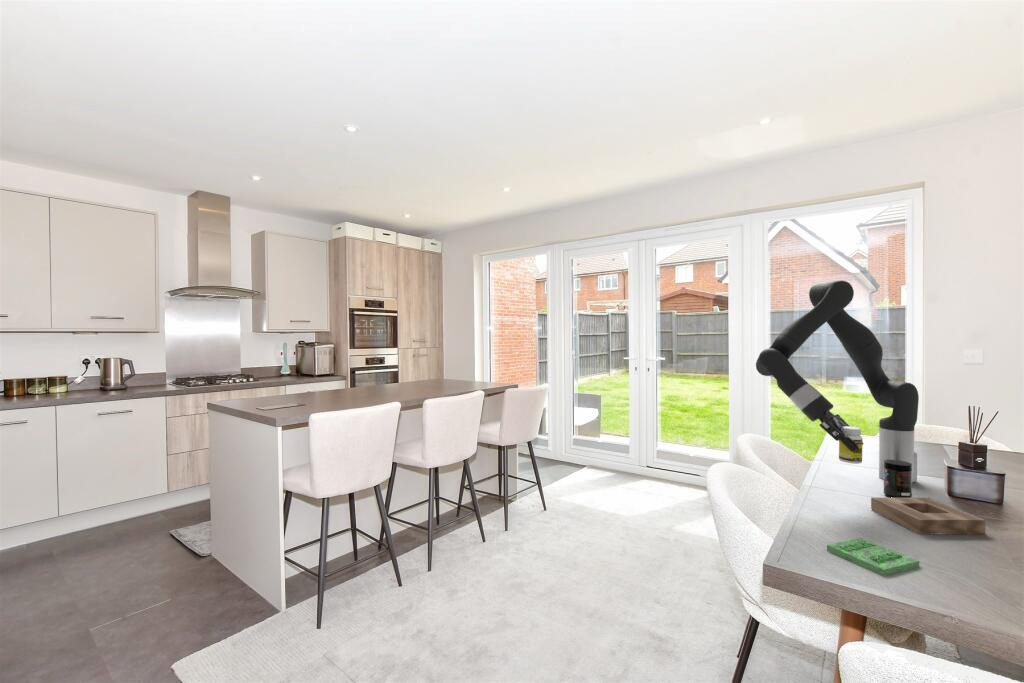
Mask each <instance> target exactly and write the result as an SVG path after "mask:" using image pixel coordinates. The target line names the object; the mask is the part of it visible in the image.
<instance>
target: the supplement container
mask: <svg viewBox="0 0 1024 683" xmlns="http://www.w3.org/2000/svg"><path fill="white" fill-rule="evenodd" d="M912 484H913V483H912V464H911V463H909V462H905V461H900V460H884V479H883V494H884V496H886V497H888V496H889V497H888V498H890V497H892V498H913V490H912V489H913V485H912Z"/></svg>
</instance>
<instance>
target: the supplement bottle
mask: <svg viewBox="0 0 1024 683" xmlns="http://www.w3.org/2000/svg"><path fill="white" fill-rule="evenodd" d="M843 428H844V430H843V431H844V432H845V433H846V434H847V436H848V437H849V438H850V439H851V440H852V441H853V442H855V443H856V444H857V445H858V446H859V448H858V449H857V450H855V451H854V452H852V451H850V450H849V449H848V448H847V447H846V446H845V445H844V444H843V443H842V441H841V442H840V441H838V460H839V461H840V462H843V463H846V464H847V463H848V464H854V465H855V464H856V465H859V464H862V463H863V446H864V442H863V441H864V440H863V436H862V435H861V434H862V429H861V428H860V427H857V426H851V425H849V426H843ZM862 442H863V444H862Z"/></svg>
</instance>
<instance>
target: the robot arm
mask: <svg viewBox="0 0 1024 683" xmlns="http://www.w3.org/2000/svg"><path fill="white" fill-rule="evenodd" d="M808 295H809V301H810V303H811V305H812V306H813V307H812V308H811V309H810V310H809V311H807V312H805V313H804V314H803V315H801V316H799V317H798V318H796V319H795V320H793V321H791V322H790V324H788V325H787V326H786V327H785V328H784V329H783V330H781V332H780V333H779V334H778V336H777V337H776V338H775V339H774V341H773V343H772V344H771V345H770V347H768V348H765V349H763V350H761V352H760V353H759V355H758V357H757V360H756V362H755V367H756V368H755V369H756V371H757V372H758V373H759V374H760V375H762V376H765V377H771V376H773V378H774V379H775V381H776V385H777V387H778V388H779V390H781V391H782V392H783V394H784V395H786V397H788V399H789V400H790V401H791V402H792V403H793V405H795V407H796V408H798V409H799V410H800V411H801V412H802V414H804V415H805V416H806V418H808V419H809V420H810V421H811V422H815V421H817V420H819V421H820V424H819V427H820V428H821V429H823V430H824V432H826V433H827V434H828V435H829V436H830V437H831V438H833V439H834V440H835V441H836V442H837V441H838V442H839V441H840V442H841V441H842V443H843V444H844V445H845V446H846V447H847V448H848V449H849V450H850V451H852V452H854V451H855V450H857V449H858V448H859V446H858V445H857V444H856V443H855V442H853V441H852V440H851V439H850V438H849V437H848V436H847V434H846V433H845V432H844V431H843V430H844V428H843V426H850V425H849V424H848V423H847V422H846V421H845V419H843V417H841V415H839V414H834V413H832V412H831V411H830V410H832V409H833V408H834V404H832V403H831V401H829V400H828V399H827V397H825V396H824V395H823V394H822V393H821V392H820V391H819V390H818V389H816V387H814V386H813V385H811V384H810V383H809V382H808V381H807V380H806V379H805V378H804V377H803V376H802V375H800V374H799V373H798V372H797V371H796V369H795V367H794V366H793V365H792V364H791V361H789V359H790V358H791V356H792V355H793V354H794V353H796V352H797V351H798V350H799V349H800V348H801V347H802V345H803V344H804V343H805V342H806V341H807V340H808V339H809V338H810V337H811V336H812V335H814V333H815V332H816V331H818V329H820V327H822V326H823V325H824V324H826V323H827V324H828V326H829V327H830V328H831V330H832V332H833V333H834V335H835V336H836V337H837V339H838V340H839V342H840V343H841V345H842V347H843V348H844V350H845V352H846V353H847V355H848V356H849V358H850V360H852V361H853V363H854V364H855V366H856V368H857V370H858V371H859V373H860V375H861V376H862V377H863V378H862V379H863V380H864V381H865V384H866V385H867V388H868V389H869V391H870V394H871V396H872V397H873V399H874V400H875V402H876V403H877V404H878V405H879V406H882V407H885V408H891V409H892V412H891V415H889V416H888V417H883V418H880V419H879V422H878V423H879V424H878V425H879V427H878V429H879V430H878V431H879V434H878V435H879V438H878V439H879V440H878V441H879V442H878V443H879V444H878V446H879V448H878V449H879V450H878V477H879V478H880V479H882V480H884V460H900V461H905V462H909V463H911V464H912V484H913V483H917V482H918V453H917V452H915V426H916V424H917V421H918V415H919V414H918V413H919V398H920V397H919V391H918V389H917V387H916V386H915V385H914V384H913V383H910V382H906V381H896V380H894V381H893V380H891V379H890V378H889V377H888V376H887V375H886V373H885V371H884V370H883V367H882V361H883V357H884V356H883V354H884V352H883V347H882V345H881V344H880V342H879V340H878V338H877V337H876V336H875V334H874V333H873V331H872V330H871V329H870V328H868V326H865V325H864V324H863V323H862V322H860V321H859V320H857V319H855V318H854V317H853V316H851V315H850V314H849V313H848V312H847V311H846V310H845V308H846V307H847V306H849V305H850V303H852V301H853V299H854V295H855V291H854V287H853V286H852V284H850V282H848V281H846V280H841V279H840V280H828V281H823V282H817V283H815V284H813V285H812V286H811V287H810V289H809V293H808ZM862 444H863V445H864V442H862Z"/></svg>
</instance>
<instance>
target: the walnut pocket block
mask: <svg viewBox="0 0 1024 683" xmlns="http://www.w3.org/2000/svg"><path fill="white" fill-rule="evenodd" d="M871 509H872V510H873V512H874V511H875V512H874V513H876V512H877V513H876V514H878V513H879V515H880V514H881V515H880V516H882V515H883V517H884V516H885V517H884V518H886V517H887V518H886V519H888V518H889V519H888V520H890V519H891V520H890V521H892V520H893V522H894V521H895V523H896V522H897V524H898V523H899V524H898V525H900V526H902V527H904V526H905V527H904V528H907V529H909V530H911V531H912V530H913V531H912V532H915V533H917V534H918V535H935V534H934V533H945V534H944V535H986V519H984V518H982V517H979V516H976V515H974V514H971V513H969V512H966V511H964V510H961V509H958V508H956V507H953V506H951V505H949V504H946V503H944V502H941V501H938V500H936V499H934V498H931V497H911V498H890V497H870V510H871ZM872 510H871V511H872ZM931 533H933V534H931Z"/></svg>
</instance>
